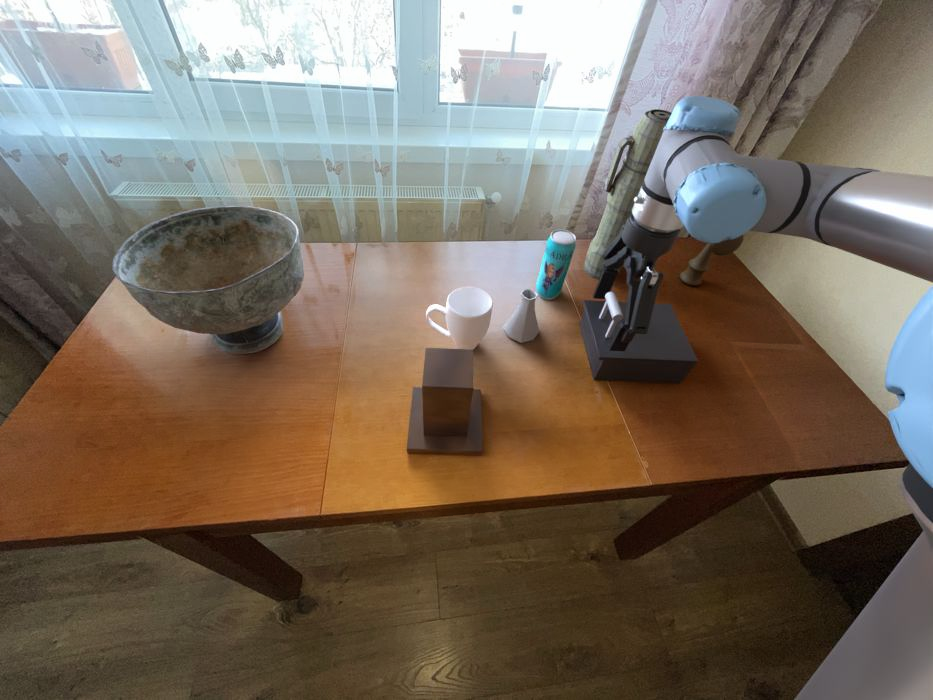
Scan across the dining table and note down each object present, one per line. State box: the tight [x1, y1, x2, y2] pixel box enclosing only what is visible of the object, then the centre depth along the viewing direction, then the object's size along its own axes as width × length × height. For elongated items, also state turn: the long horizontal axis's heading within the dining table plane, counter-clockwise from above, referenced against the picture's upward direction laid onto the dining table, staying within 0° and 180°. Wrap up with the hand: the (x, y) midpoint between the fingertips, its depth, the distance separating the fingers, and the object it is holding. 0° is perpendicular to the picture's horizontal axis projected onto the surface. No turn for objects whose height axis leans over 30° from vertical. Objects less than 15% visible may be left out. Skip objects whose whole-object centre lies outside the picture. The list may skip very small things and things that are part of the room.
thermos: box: [583, 108, 672, 280], centre depth 86 cm, size 9×12×35 cm
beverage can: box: [535, 229, 577, 301], centre depth 86 cm, size 6×6×15 cm
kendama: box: [679, 234, 744, 287], centre depth 91 cm, size 6×10×20 cm, turn 0°
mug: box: [425, 286, 494, 351], centre depth 75 cm, size 12×8×11 cm
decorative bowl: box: [111, 205, 305, 355], centre depth 72 cm, size 26×26×20 cm
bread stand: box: [406, 347, 484, 456], centre depth 62 cm, size 12×12×15 cm
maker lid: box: [582, 291, 699, 364], centre depth 74 cm, size 18×15×7 cm
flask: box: [502, 287, 540, 344], centre depth 80 cm, size 7×7×10 cm
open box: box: [578, 310, 697, 384], centre depth 79 cm, size 17×15×6 cm
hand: (607, 322), depth 75 cm, fingers open, 13 cm apart
